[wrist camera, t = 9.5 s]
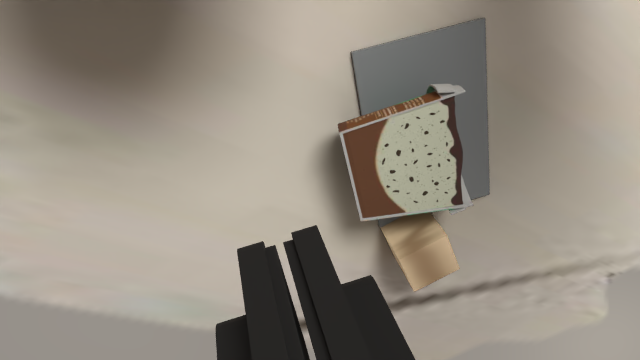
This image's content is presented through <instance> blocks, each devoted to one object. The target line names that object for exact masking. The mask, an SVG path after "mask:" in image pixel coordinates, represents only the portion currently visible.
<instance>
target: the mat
mask: <svg viewBox="0 0 640 360" xmlns="http://www.w3.org/2000/svg"><path fill="white" fill-rule="evenodd" d="M351 56H352V62H353V69H354V75H355V81H356V87H357V93H358V99H359V106H360V112H361V116H363V115H366V114H369V113H372V112H375V111H378V110H381V109H384V108H387V107H390V106H393V105H396V104H399V103H402V102H405V101H407V100H410V99H413V98H416V97H419V96H422V95H425V94H426V91H427V88H428V86H429V85H430V84H451V85H453V86H454V85H459V86H461V87H462V88H463V89H464V90H465V91H466V92H464V93H461V94H458V95H455V116H456V126H457V130H458V134H459V137H460V141H461V144H462V149H463V164H462V172H461V174H462V178H463V181H464V184H465V186H466V189H467V192H468V194H469V197H470V199H471V200H472V199H476V198H479V197H482V196H486V195H489V194H490V192H489V151H488V110H487V69H486V28H485V18H480V19H476V20H472V21H468V22H464V23H460V24H456V25H453V26H449V27H445V28H441V29H437V30H433V31H429V32H426V33H422V34H418V35H414V36H410V37H406V38H403V39H399V40H395V41H391V42H387V43H383V44H379V45H376V46H372V47H368V48H364V49H360V50H356V51H353V52H351ZM400 217H402V216H398V217H391V218H384V219H378V223H379V226H380V227H383V226H385V225H387V224H389V223H391V222H392V221H394V220H396V219H398V218H400Z"/></svg>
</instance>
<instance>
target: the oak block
mask: <svg viewBox="0 0 640 360" xmlns="http://www.w3.org/2000/svg"><path fill="white" fill-rule="evenodd" d="M381 230H382V232H383V234H384V236H385V238H386V240H387V242H388V244H389V246H390V248H391V250H392V252H393V255H394V257H395V259H396V260H397V262H398V264H399V266H400V267H401V269H402V271H403V273H404V275H405V276H406V278H407V280H408V282H409V283H410V285H411V287H412V289H413V291H414V292H415V291H417V290H419V289H421V288H423V287H425V286H427V285H429V284H431V283H433V282H435V281H437V280H439V279H441V278H443V277H445V276H446V275H448V274H450V273H452V272H454V271H456V270H458V269H460V268H459V265H458V263H457V260H456V257H455V255H454V252H453V249H452V247H451V244H450V242H449V239H448V236H447V234H446V233H445V232H444V230H443V229H442V228H441V226H440V225H439V224H438V222H437V221H436V220H435V218H434V217H433V216H432V214H431V213H430V212H427V213H420V214H413V215H405V216H402V217H400V218H398V219H396V220H394V221H392V222H391V223H389V224H387V225H385V226H383V227H381Z"/></svg>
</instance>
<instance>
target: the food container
mask: <svg viewBox="0 0 640 360" xmlns="http://www.w3.org/2000/svg"><path fill="white" fill-rule="evenodd" d="M464 92H466V91H465V90H464V89H463V88H462V87H461V86H459V85H454V86H453V85H451V84H430V85H429V86H428V88H427V91H426V94H425V95H422V96H419V97H416V98H413V99H410V100H407V101H405V102H402V103H399V104H396V105H393V106H390V107H387V108H384V109H381V110H378V111H375V112H372V113H369V114H366V115H363V116H360V117H357V118H354V119H351V120H348V121H345V122H342V123H339V124H338V129H339V134H340V138H341V142H342V146H343V150H344V154H345V159H346V163H347V167H348V171H349V175H350V179H351V183H352V188H353V192H354V196H355V200H356V204H357V208H358V212H359V217H360V221H361V222H362V221H369V220H376V219H384V218H391V217H398V216H405V215H413V214H420V213H427V212H434V211H442V210H449V211H450V214H451V215H452V214H455V213H458V212H460V211H463V210H466V207H469V206H473V203H472V201H471V199H470V197H469V194H468V192H467V189H466V186H465V184H464V181H463V178H462V174H461V172H462V164H463V149H462V144H461V141H460V137H459V134H458V130H457V126H456V116H455V95H458V94H461V93H464Z"/></svg>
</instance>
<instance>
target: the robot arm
mask: <svg viewBox="0 0 640 360" xmlns="http://www.w3.org/2000/svg"><path fill="white" fill-rule="evenodd" d="M291 234H292V238H293V240H290V241H287V242H283V244H284V247H285V251H286V254H287V258H288V261H289V265H290V268H291V272H292V275H293V279H294V282H295V286H296V289H297V293H298V296H299V300H300V303H301V307H302V310H303V314H304V317H305V321H306V324H307V328H308V331H309V335H310V338H311V342H312V346H313V349H314V353H315V356H316V360H415V358H414V356H413V354H412V352H411V350H410V348H409V346H408V344H407V342H406V340H405V339H404V337H403V335H402V333H401V331H400V329H399V327H398V325H397V323H396V321H395V319H394V317H393V315H392V313H391V311H390V309H389V307H388V305H387V303H386V301H385V299H384V297H383V295H382V293H381V291H380V289H379V287H378V286H377V284H376V282H375V280H374V278H373V277H372V276H371V275H370V276H367V277H363V278H360V279H357V280H354V281H351V282H348V283H345V284H341V283H340V281H339V279H338V276H337V274H336V271H335V269H334V266H333V264H332V262H331V259H330V257H329V254H328V252H327V249H326V247H325V244H324V242H323V240H322V237H321V235H320V232H319V230H318V228H317V226H316V225H315V226H312V227H309V228H305V229H302V230H299V231H295V232H292V233H291ZM237 254H238V261H239V268H240V275H241V283H242V290H243V297H244V304H245V312H246V315H243V316H240V317H237V318H234V319H231V320H228V321H224V322H221V323H218V324H217V325H216V346H217V360H310V359H309V355H308V351H307V348H306V344H305V341H304V337H303V334H302V331H301V327H300V324H299V321H298V318H297V314H296V311H295V308H294V305H293V301H292V298H291V295H290V292H289V288H288V285H287V282H286V279H285V275H284V272H283V269H282V266H281V262H280V259H279V256H278V253H277V249H276V246H275V245H273V246H270V247H267V248H265V245H264V242H263V241H262V242H259V243H256V244H252V245H249V246H246V247H242V248H239V249H237Z"/></svg>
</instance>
